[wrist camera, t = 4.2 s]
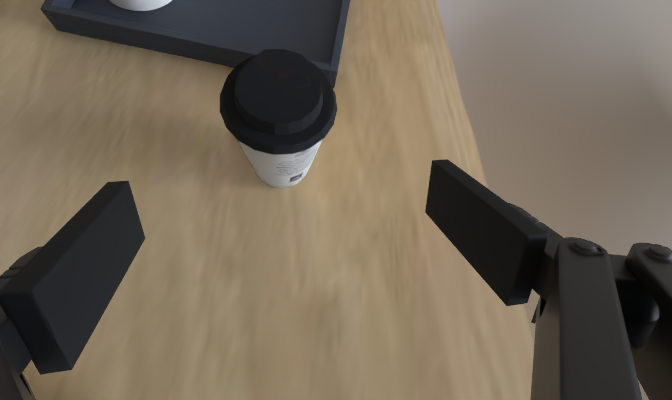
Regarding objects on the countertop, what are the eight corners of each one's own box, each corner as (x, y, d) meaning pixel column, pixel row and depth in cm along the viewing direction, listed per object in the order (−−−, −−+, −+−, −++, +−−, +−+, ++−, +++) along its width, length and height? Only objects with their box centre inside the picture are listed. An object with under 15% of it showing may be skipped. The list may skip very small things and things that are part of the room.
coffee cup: (320, 205, 28) (337, 149, 19) (232, 197, 27) (203, 134, 18) (325, 130, 30) (343, 45, 21) (244, 121, 29) (224, 29, 20)
